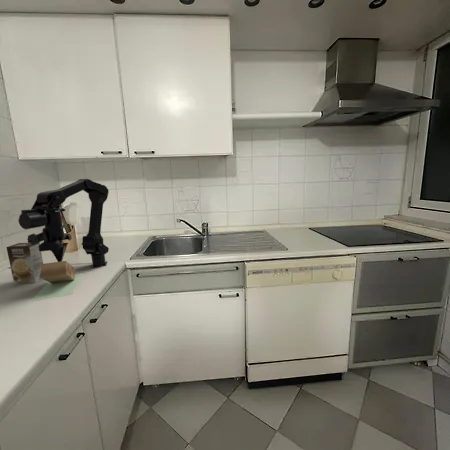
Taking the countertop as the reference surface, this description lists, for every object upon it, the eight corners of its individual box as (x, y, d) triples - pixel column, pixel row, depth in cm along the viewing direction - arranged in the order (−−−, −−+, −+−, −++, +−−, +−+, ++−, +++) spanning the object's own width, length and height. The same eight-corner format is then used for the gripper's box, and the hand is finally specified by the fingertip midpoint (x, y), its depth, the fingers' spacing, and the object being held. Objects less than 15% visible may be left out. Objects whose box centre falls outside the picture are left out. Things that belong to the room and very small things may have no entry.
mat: (52, 278, 101) (52, 277, 101) (84, 273, 105) (83, 272, 105) (30, 302, 81) (30, 301, 81) (71, 295, 85) (71, 294, 85)
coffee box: (13, 285, 96) (4, 247, 93) (25, 278, 102) (18, 242, 100) (36, 283, 96) (28, 245, 93) (47, 277, 103) (40, 241, 100)
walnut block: (52, 271, 97) (41, 264, 87) (74, 268, 99) (66, 260, 90) (51, 283, 95) (40, 277, 85) (74, 280, 97) (65, 273, 88)
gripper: (38, 222, 98) (44, 258, 101) (16, 230, 81) (25, 273, 84) (69, 220, 102) (74, 254, 105) (54, 227, 85) (62, 268, 88)
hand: (60, 262), depth 95 cm, fingers closed
